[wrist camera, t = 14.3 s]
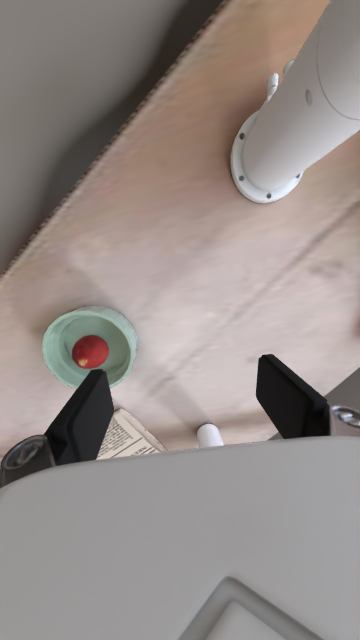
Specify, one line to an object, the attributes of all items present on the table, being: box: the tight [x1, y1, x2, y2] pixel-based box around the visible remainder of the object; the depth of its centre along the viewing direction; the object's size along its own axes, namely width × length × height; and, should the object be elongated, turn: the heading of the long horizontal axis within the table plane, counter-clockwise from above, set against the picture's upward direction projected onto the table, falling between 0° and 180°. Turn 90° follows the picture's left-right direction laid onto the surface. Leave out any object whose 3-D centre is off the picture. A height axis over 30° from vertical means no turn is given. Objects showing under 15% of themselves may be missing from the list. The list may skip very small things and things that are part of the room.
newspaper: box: [96, 409, 167, 460], centre depth 43 cm, size 37×19×3 cm, turn 125°
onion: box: [72, 335, 109, 369], centre depth 31 cm, size 6×6×8 cm
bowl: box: [42, 305, 138, 389], centre depth 33 cm, size 15×15×5 cm
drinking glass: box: [197, 424, 224, 448], centre depth 37 cm, size 7×7×15 cm
